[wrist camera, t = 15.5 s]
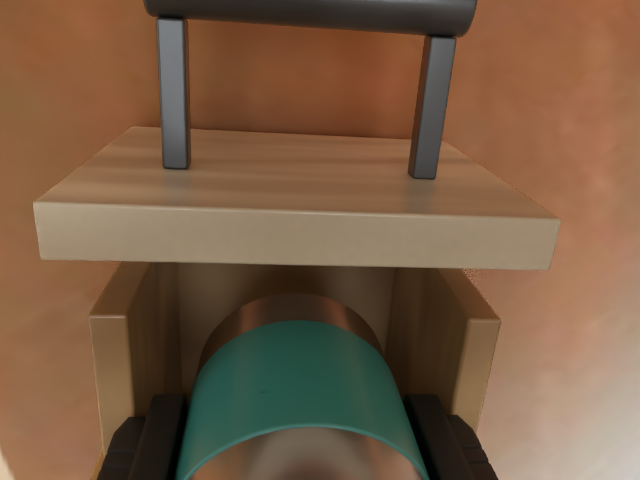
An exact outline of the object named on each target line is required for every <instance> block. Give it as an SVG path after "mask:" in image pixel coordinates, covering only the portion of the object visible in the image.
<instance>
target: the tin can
mask: <svg viewBox="0 0 640 480" xmlns="http://www.w3.org/2000/svg"><path fill="white" fill-rule="evenodd" d="M173 480H430V478H429V476H428V473H427V470H426V467H425V464H424V462H423V459H422V456H421V453H420V450H419V447H418V445H417V442H416V439H415V436H414V433H413V430H412V428H411V425H410V422H409V419H408V416H407V414H406V411H405V408H404V405H403V402H402V399H401V397H400V394H399V391H398V388H397V385H396V382H395V380H394V377H393V375H392V372H391V370H390V368H389V366H388V365H387V363H386V360H385V357H384V354H383V351H382V348H381V345H380V343H379V341H378V339H377V336H376V335H375V333H374V332H373V330H372V328H371V327H370V326H369V325H368V323H367V322H366V321H365V320H364V319H363V318H362V317H361V316H360V315H358V314H357V313H356V312H355V311H353V310H352V309H350V308H349V307H347V306H346V305H344V304H342V303H340V302H337V301H335V300H333V299H330V298H327V297H324V296H320V295H315V294H310V293H281V294H275V295H270V296H266V297H263V298H259V299H257V300H254V301H252V302H249V303H247V304H245V305H244V306H242V307H240V308H238V309H236V310H235V311H234V312H232V313H231V314H230V315H228V316H227V317H226V318H225V319H224V320H223V321H222V322H221V323H220V324H218V325H217V327H216V328H215V329H214V331H213V332H212V333H211V334H210V336H209V338H208V339H207V341H206V343H205V345H204V347H203V350H202V353H201V355H200V360H199V365H198V369H197V374H196V379H195V382H194V385H193V387H192V390H191V395H190V399H189V404H188V409H187V414H186V418H185V423H184V428H183V433H182V438H181V443H180V448H179V453H178V457H177V462H176V467H175V472H174V477H173Z"/></svg>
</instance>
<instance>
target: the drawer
mask: <svg viewBox="0 0 640 480" xmlns="http://www.w3.org/2000/svg"><path fill="white" fill-rule="evenodd" d="M143 2H144V6H145V8H146V11H147V13H148V14H149V15H150V16H152V17H158V18H157V19H156V28H157V50H158V72H159V95H160V117H161V128H160V127H139V126H131V127H130V128H128V129H127V130H126V131H125V132H123V133H122V134H121V135H119V136H118V137H117V138H115V139H114V140H113V141H112V142H110V143H109V144H108V145H106V146H105V147H104V148H103V149H101V150H100V151H99V152H97V153H96V154H95V155H94V156H92V157H91V158H90V159H88V160H87V161H86V162H84V163H83V164H82V165H81V166H79V167H78V168H77V169H75V170H74V171H73V172H72V173H70V174H69V175H68V176H66V177H65V178H64V179H62V180H61V181H60V182H59V183H57V184H56V185H55V186H53V187H52V188H51V189H50V190H48V191H47V192H46V193H44V194H43V195H42V196H40V197H39V198H38V199H37V200H35V201H34V203H33V208H34V215H35V223H36V230H37V237H38V244H39V251H40V257H41V259H43V260H83V261H121V263H120V264H119V266H118V268H117V269H116V271H115V272H114V274H113V276H112V277H111V279H110V281H109V282H108V284H107V286H106V287H105V289H104V291H103V292H102V294H101V295H100V297H99V299H98V300H97V302H96V304H95V305H94V307H93V309H92V310H91V312H90V314H89V316H88V319H89V328H90V337H91V346H92V355H93V364H94V373H95V382H96V391H97V401H98V410H99V419H100V428H101V437H102V446H103V455H104V458H105V455H107V450H108V447H109V445H110V442H111V439H112V436H113V434H114V432H115V431H116V430H117V429H118V428H119V427H120V426H121V425H122V424H123V423H124V422H125V421H126V420H127V418H128V417H147V414H148V410H149V407H150V404H151V401H152V398H153V395H154V394H185V395H186V400H187V409H188V404H189V399H190V395H191V390H192V387H193V385H194V382H195V379H196V374H197V369H198V365H199V360H200V355H201V353H202V350H203V347H204V345H205V343H206V341H207V339H208V338H209V336H210V334H211V333H212V332H213V331H214V329H215V328H216V327H217V325H218V324H220V323H221V322H222V321H223V320H224V319H225V318H226V317H227V316H228V315H230V314H231V313H232V312H234V311H235V310H236V309H238V308H240V307H242V306H244V305H245V304H247V303H249V302H252V301H254V300H257V299H259V298H263V297H266V296H270V295H275V294H281V293H310V294H315V295H320V296H324V297H327V298H330V299H333V300H335V301H337V302H340V303H342V304H344V305H346V306H347V307H349V308H350V309H352V310H353V311H355V312H356V313H357V314H358V315H360V316H361V317H362V318H363V319H364V320H365V321H366V322H367V323H368V325H369V326H370V327H371V328H372V330H373V332H374V333H375V335H376V336H377V339H378V341H379V343H380V345H381V348H382V351H383V354H384V357H385V360H386V363H387V365H388V366H389V368H390V370H391V372H392V375H393V377H394V380H395V382H396V385H397V388H398V391H399V394H400V397H401V399H402V402H403V399H404V396H405V394H436V395H437V396H438V398H439V401H440V403H441V405H442V407H443V409H444V412H445V414H446V415H459V416H460V417H461V418H462V419H463V420H464V421H465V422H466V423H467V424H468V425H469V426H470V427H471V428H472V429H473V430H474V432H475V434H476V433H477V428H478V424H479V419H480V415H481V410H482V405H483V401H484V396H485V392H486V387H487V383H488V378H489V373H490V369H491V364H492V360H493V355H494V351H495V346H496V342H497V337H498V332H499V328H500V323H501V321H500V318H499V317H498V315H497V314H496V313H495V311H494V310H493V309H492V308H491V306H490V305H489V304H488V302H487V301H486V300H485V299H484V297H483V296H482V295H481V293H480V292H479V291H478V290H477V288H476V287H475V286H474V285H473V283H472V282H471V281H470V279H469V278H468V277H467V276H466V274H465V273H464V272H463V270H462V269H504V270H549V268H550V264H551V260H552V256H553V252H554V248H555V244H556V240H557V236H558V231H559V227H560V223H561V219H560V218H558V217H557V216H555V215H554V214H552V213H551V212H549V211H548V210H546V209H545V208H544V207H542V206H541V205H539V204H538V203H536V202H535V201H533V200H532V199H530V198H529V197H527V196H526V195H524V194H523V193H521V192H520V191H518V190H517V189H515V188H514V187H512V186H511V185H509V184H508V183H507V182H505V181H504V180H502V179H501V178H499V177H498V176H496V175H495V174H493V173H492V172H490V171H489V170H487V169H486V168H484V167H483V166H481V165H480V164H478V163H477V162H475V161H474V160H473V159H471V158H470V157H468V156H467V155H465V154H464V153H462V152H461V151H459V150H458V149H456V148H455V147H453V146H452V145H450V144H449V143H447V142H446V141H441V140H442V133H443V127H444V120H445V113H446V107H447V100H448V93H449V87H450V80H451V73H452V67H453V60H454V53H455V47H456V38H460V37H463V36H464V35H465V34H466V33H467V32H468V30H469V28H470V26H471V23H472V21H473V18H474V14H475V10H476V5H477V0H143ZM186 19H194V20H209V21H223V22H237V23H252V24H266V25H281V26H295V27H309V28H324V29H338V30H352V31H367V32H381V33H396V34H410V35H424V36H426V37H425V40H424V48H423V55H422V63H421V71H420V79H419V86H418V94H417V102H416V109H415V117H414V125H413V133H412V140H411V139H390V138H369V137H348V136H327V135H306V134H286V133H265V132H244V131H223V130H202V129H191V126H190V86H189V45H188V21H187V20H186Z"/></svg>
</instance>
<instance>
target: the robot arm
mask: <svg viewBox="0 0 640 480" xmlns="http://www.w3.org/2000/svg"><path fill="white" fill-rule="evenodd" d="M403 405H404V408H405V411H406V414H407V416H408V419H409V422H410V425H411V428H412V430H413V433H414V436H415V439H416V442H417V445H418V447H419V450H420V453H421V456H422V459H423V462H424V464H425V467H426V470H427V473H428V476H429V478H430V480H498V478H497V476H496V474H495V472H494V470H493V468H492V466H491V464H489V462H488V458H487V456H486V454H485V452H484V450H483V449H482V448H481V444H480V442H479V440H478V438H477V436H476V434H475V432H474V430H473V429H472V428H471V427H470V426H469V425H468V424H467V423H466V422H465V421H464V420H463V419H462V418H461V417H460V416H459V415H446V414H445V412H444V409H443V407H442V405H441V403H440V401H439V398H438V396H437V395H436V394H405V396H404V399H403ZM186 414H187V400H186V395H185V394H154V395H153V398H152V401H151V404H150V407H149V410H148V414H147V417H128V418H127V420H126V421H125V422H124V423H123V424H122V425H121V426H120V427H119V428H118V429H117V430H116V431H115V432H114V434H113V436H112V439H111V442H110V445H109V447H108V450H107V455H105V458H104V461H103V463H102V466H101V470H100V471H99V474H98V477H97V480H173V477H174V472H175V467H176V462H177V457H178V453H179V448H180V443H181V438H182V433H183V428H184V423H185V418H186Z"/></svg>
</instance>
